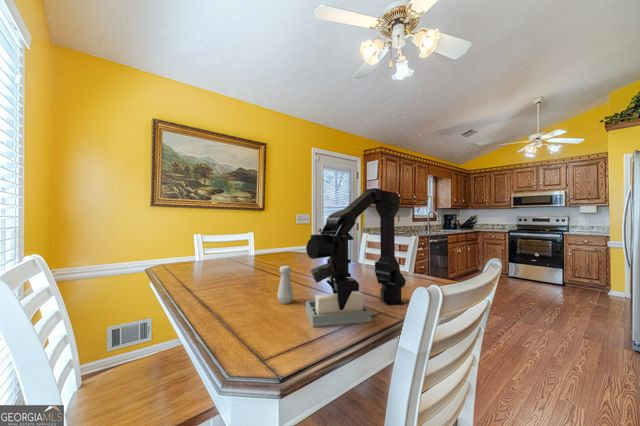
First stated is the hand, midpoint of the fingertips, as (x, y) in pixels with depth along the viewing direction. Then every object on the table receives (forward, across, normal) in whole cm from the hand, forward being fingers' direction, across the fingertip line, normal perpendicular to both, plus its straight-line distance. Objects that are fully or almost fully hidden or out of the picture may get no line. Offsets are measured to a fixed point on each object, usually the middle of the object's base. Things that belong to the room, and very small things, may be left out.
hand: (339, 307), depth 76 cm
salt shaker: (+4, -20, -15) cm, 25 cm away
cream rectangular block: (+1, 0, 0) cm, 1 cm away
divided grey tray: (+4, -3, 0) cm, 5 cm away
